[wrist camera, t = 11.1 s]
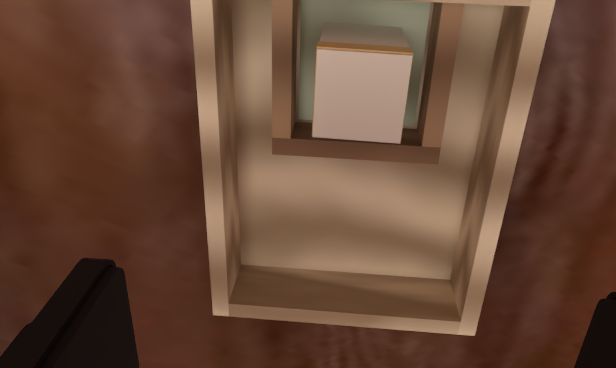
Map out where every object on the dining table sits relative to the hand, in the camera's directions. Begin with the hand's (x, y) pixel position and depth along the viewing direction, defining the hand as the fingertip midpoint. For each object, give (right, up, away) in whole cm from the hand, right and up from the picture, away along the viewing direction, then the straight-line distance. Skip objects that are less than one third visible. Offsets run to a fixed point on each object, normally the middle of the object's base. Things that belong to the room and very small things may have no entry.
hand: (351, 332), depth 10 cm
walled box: (+2, +6, +21) cm, 22 cm away
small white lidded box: (+2, +10, +18) cm, 20 cm away
